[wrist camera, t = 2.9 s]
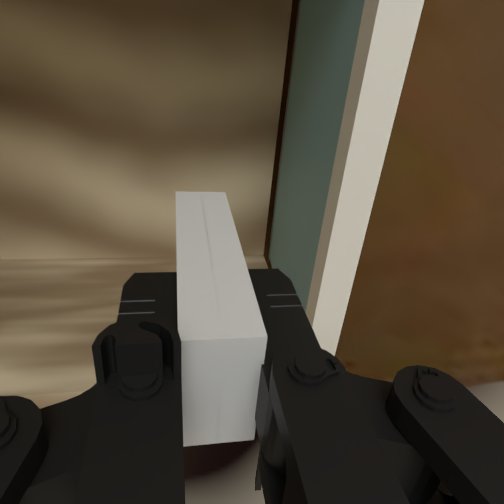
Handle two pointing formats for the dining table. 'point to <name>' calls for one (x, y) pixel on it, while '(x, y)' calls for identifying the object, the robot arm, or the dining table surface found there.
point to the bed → (121, 159)
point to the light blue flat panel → (336, 145)
